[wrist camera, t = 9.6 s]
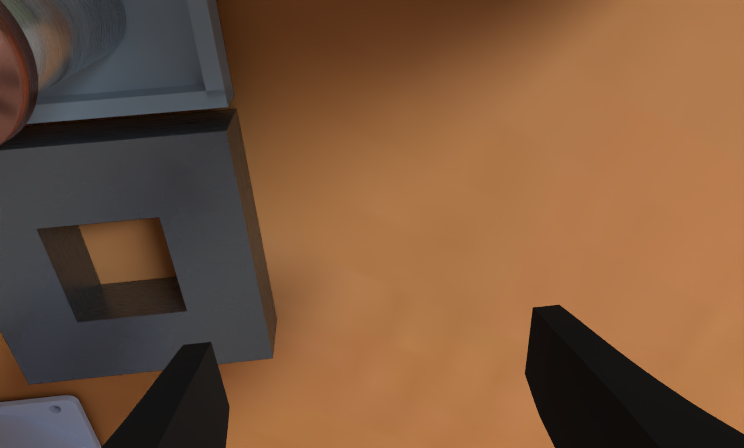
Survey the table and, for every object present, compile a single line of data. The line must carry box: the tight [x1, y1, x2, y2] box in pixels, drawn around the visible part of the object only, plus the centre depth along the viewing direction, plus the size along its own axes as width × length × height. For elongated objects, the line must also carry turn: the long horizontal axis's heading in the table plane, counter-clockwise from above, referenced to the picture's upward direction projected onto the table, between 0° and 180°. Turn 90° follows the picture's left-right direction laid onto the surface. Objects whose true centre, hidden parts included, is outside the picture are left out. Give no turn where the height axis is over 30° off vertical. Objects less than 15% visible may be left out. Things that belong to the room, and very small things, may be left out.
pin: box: [0, 0, 126, 145], centre depth 13 cm, size 4×4×8 cm
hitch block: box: [0, 109, 277, 385], centre depth 20 cm, size 10×10×2 cm
